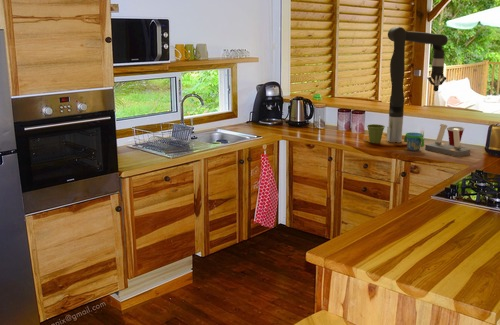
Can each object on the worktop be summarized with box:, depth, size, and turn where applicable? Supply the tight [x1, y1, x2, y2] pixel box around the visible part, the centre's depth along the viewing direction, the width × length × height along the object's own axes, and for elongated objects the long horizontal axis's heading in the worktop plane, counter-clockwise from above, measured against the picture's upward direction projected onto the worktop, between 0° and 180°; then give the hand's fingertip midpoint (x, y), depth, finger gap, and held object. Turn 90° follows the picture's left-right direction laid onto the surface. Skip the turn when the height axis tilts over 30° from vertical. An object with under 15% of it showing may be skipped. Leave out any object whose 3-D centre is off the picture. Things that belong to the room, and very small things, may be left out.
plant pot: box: [366, 123, 386, 144], centre depth 370 cm, size 12×12×11 cm
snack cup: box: [403, 132, 425, 152], centre depth 349 cm, size 16×10×10 cm
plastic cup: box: [446, 126, 465, 146], centre depth 358 cm, size 11×11×12 cm
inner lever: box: [434, 123, 448, 145], centre depth 349 cm, size 2×4×13 cm, turn 35°
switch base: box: [424, 142, 471, 158], centre depth 344 cm, size 12×24×3 cm, turn 34°
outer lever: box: [452, 128, 462, 149], centre depth 336 cm, size 2×4×13 cm, turn 33°
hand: (435, 91), depth 372 cm, fingers closed
